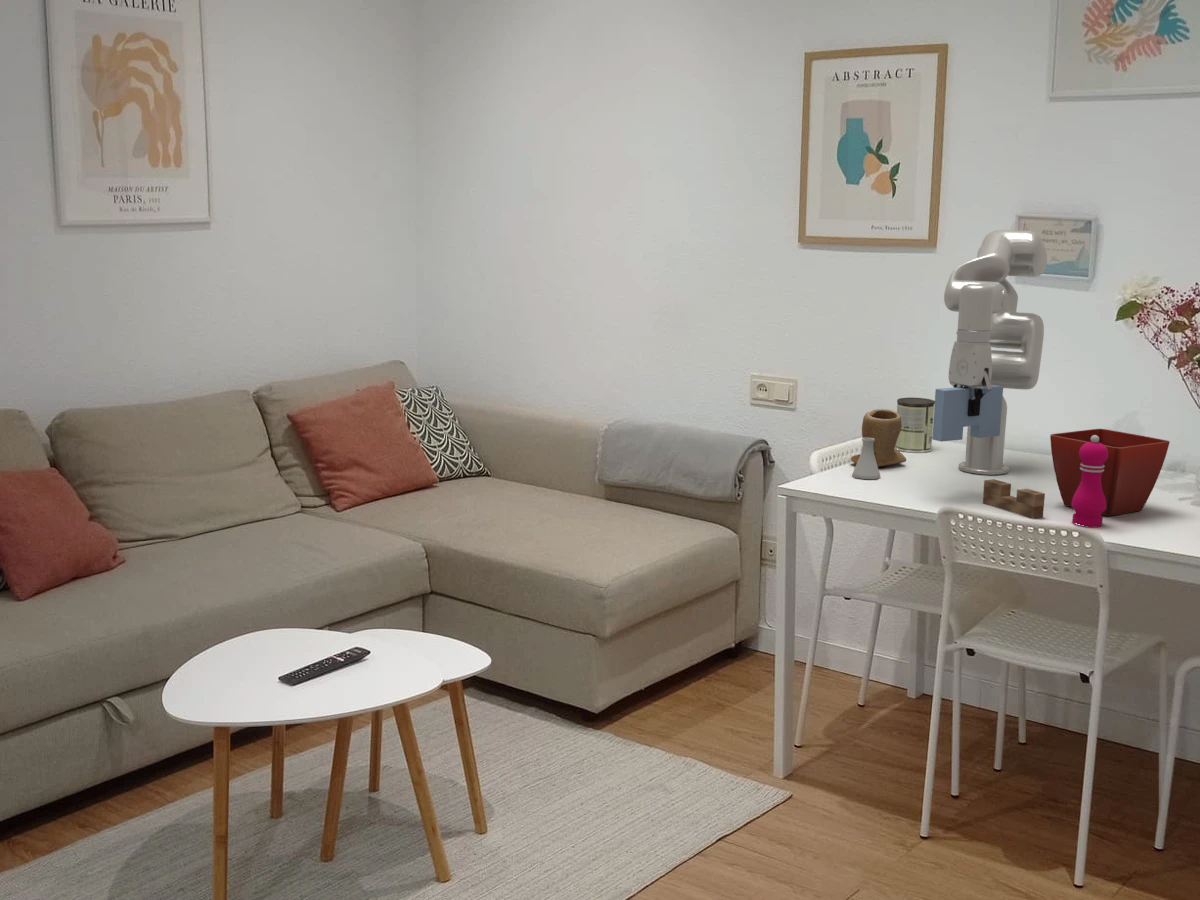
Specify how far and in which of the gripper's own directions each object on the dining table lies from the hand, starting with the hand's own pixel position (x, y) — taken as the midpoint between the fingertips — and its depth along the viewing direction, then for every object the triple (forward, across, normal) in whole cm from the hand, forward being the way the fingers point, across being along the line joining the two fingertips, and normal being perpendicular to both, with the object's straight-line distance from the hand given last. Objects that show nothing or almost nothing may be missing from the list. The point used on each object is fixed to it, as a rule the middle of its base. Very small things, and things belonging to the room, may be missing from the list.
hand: (968, 413), depth 310 cm
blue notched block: (+6, 0, 0) cm, 6 cm away
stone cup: (+20, -36, +5) cm, 42 cm away
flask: (+20, -26, -8) cm, 34 cm away
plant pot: (+20, +22, +23) cm, 38 cm away
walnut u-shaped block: (+20, +15, +1) cm, 25 cm away
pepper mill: (+20, +31, +8) cm, 38 cm away
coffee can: (+20, -51, +27) cm, 61 cm away
